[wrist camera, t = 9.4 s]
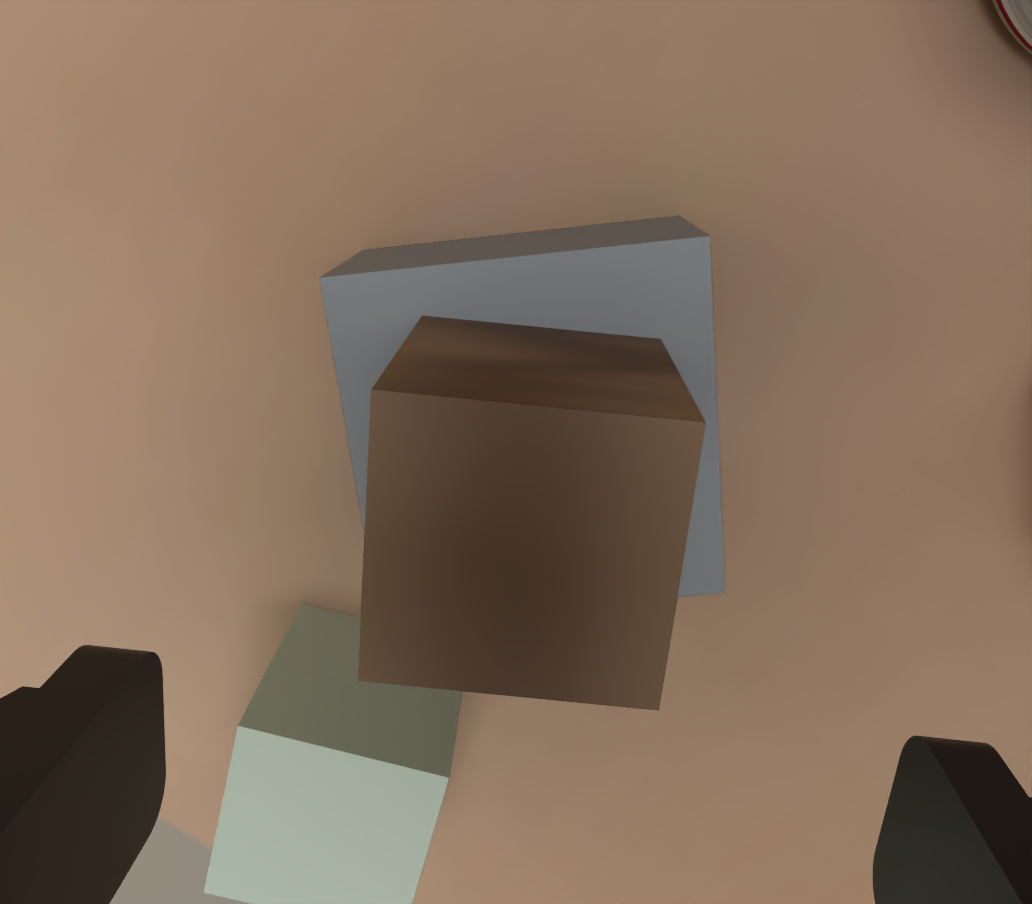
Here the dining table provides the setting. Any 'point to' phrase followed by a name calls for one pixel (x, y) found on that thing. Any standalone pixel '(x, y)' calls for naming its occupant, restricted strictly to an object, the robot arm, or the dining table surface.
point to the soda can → (1017, 19)
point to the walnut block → (526, 513)
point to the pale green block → (331, 777)
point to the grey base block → (542, 323)
